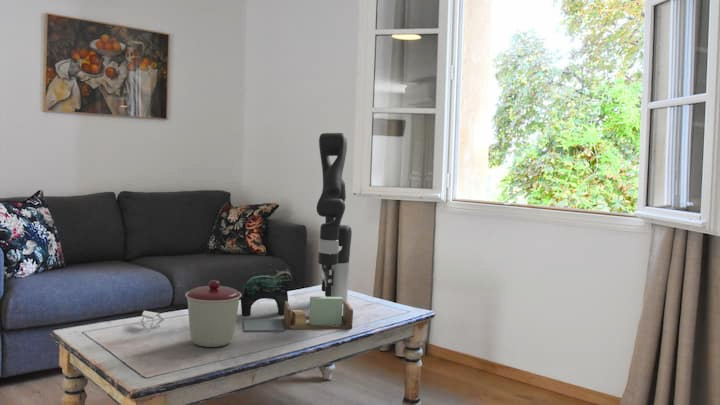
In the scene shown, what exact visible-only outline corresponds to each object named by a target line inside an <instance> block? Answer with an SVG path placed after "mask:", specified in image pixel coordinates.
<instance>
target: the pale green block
mask: <svg viewBox="0 0 720 405" xmlns="http://www.w3.org/2000/svg"><path fill="white" fill-rule="evenodd" d="M308 314H309V315H308V316H309V319H308V325H335V324H336V325H338V324H342V320H343V319H342V316H343V298H342V297H326V296H310V297H309V312H308ZM342 325H343V324H342Z"/></svg>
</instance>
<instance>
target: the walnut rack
mask: <svg viewBox="0 0 720 405" xmlns="http://www.w3.org/2000/svg"><path fill="white" fill-rule="evenodd" d="M291 314H292V309H291V307H290V304H289V300H288V301H285V305H284V314H283V320H284V323H285V326H286V328H287V330H320V329H321V330H324V329H325V330H327V329H328V330H329V329H331V330H335V329H338V330H340V329H343V330H344V329H345V330H346V329H350V330H352V329H353V322H354V321H353V320H354V319H353V318H354V309H353V308H352V307H351V305H350V304H349V303H348V300H347V301H343V306H342V320H343V321H344V322H345V324H346V325H345V324H342V325H310V324H307V325H297V326H294V325H291V324H292V323H291ZM305 318H306V320H309V315H305Z"/></svg>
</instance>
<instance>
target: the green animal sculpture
mask: <svg viewBox="0 0 720 405" xmlns="http://www.w3.org/2000/svg"><path fill="white" fill-rule="evenodd" d="M270 266H275V267H276V269H274V274H267V273H263V272H253V273H250V274H249V275H247V277H246V278H245V280H244V285H243V287H242V288H241V290H240V291H241V292H240V293H241V294H242V296H241V297H240V308H241V315H242V316H243V317H250V316H251V315H252V314H251V313H252V311H251V310H252V306H253V305H254V303H255V302H257V301H259V300H262V299H264V300H265V299H267V300H274V301H275V303H276V306H277V313H278V315H279V316H281V315H284V305H285V301H288V302H289V295H288V288H290V287H291V285H292V282H293V277H292V275H291V272H290V269H289V267H287V268H286V270H281V271H279V270H278V266H277V265H276V264H275V263H270V264H268V266H267V268H270ZM257 274H261V275H257ZM252 275H255V276H252ZM251 276H252V277H251ZM250 277H251V278H250Z"/></svg>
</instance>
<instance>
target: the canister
mask: <svg viewBox="0 0 720 405" xmlns="http://www.w3.org/2000/svg"><path fill="white" fill-rule="evenodd" d="M220 284H221V283H220V281H219V280H217V279H212V280H210V281H209V282H208V285H204V286H198V287H194V288H192V289H190V290H189V291H187V292H186V293H185V296H184V297H186V298H187V308H188V309H187V310H188V322H189V323H188V324H189V331H190V339H191V340H192V342H193V343H194V344H195V345H196V346H199V347H205V348H217V347H223V346H227V345H228V344H230V343H231V341H232V340H233V338H234V335H235V329H236V325H237V323H236V322H237V318H238V311H239V304H240V299H241V296H242V294H241V292H240V291H238V290H237V289H236V288H232V287H229V286H224V285H220Z"/></svg>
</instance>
